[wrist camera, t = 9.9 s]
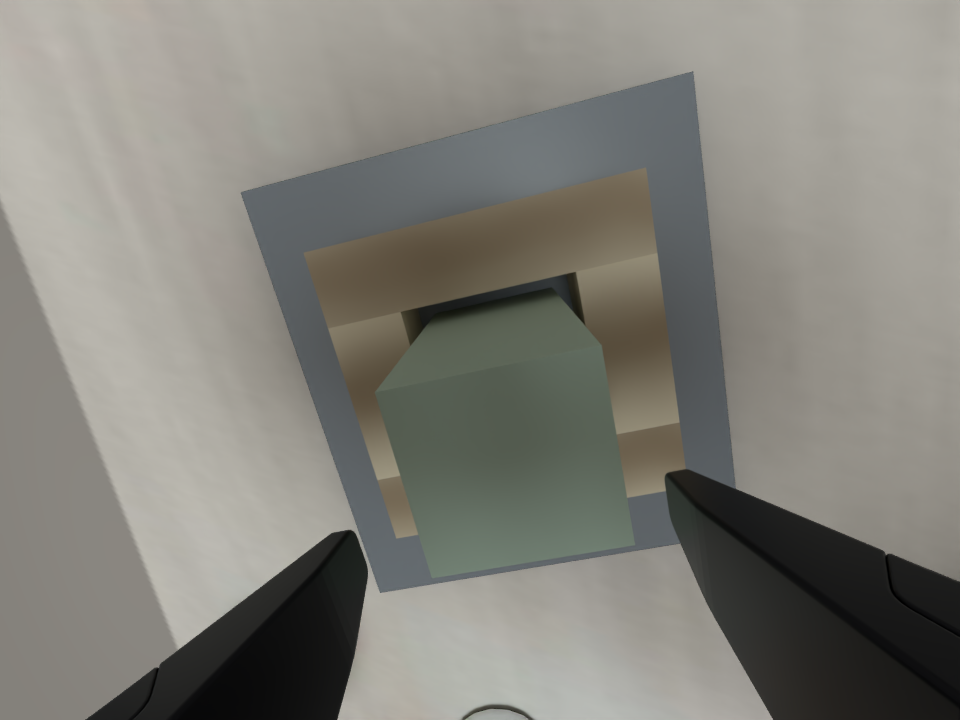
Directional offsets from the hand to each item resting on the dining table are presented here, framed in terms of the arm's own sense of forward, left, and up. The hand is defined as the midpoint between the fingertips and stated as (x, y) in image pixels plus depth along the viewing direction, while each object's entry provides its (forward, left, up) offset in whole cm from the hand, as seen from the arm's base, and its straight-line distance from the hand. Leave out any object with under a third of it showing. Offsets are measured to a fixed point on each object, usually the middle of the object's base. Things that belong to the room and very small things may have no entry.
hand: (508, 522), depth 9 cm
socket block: (0, 0, -13) cm, 13 cm away
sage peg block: (0, 0, -12) cm, 12 cm away
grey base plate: (-1, 0, -13) cm, 13 cm away
